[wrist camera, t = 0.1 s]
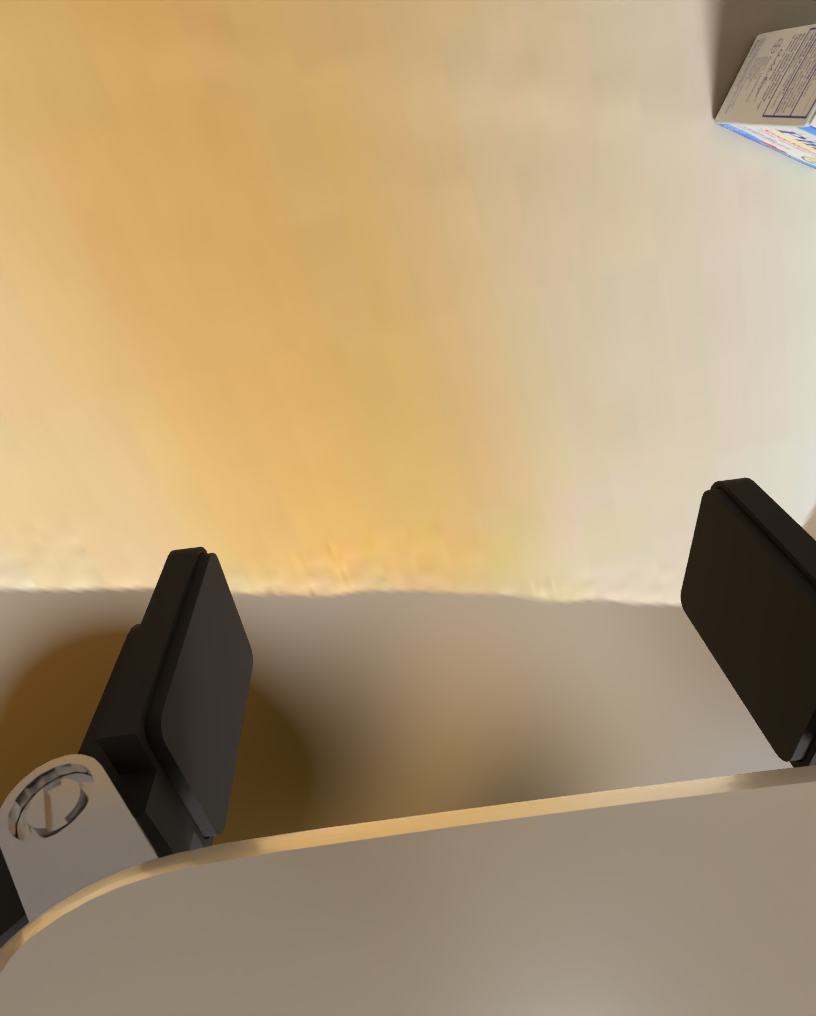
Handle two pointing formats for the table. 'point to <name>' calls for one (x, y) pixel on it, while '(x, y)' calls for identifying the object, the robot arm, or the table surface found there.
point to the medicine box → (777, 94)
